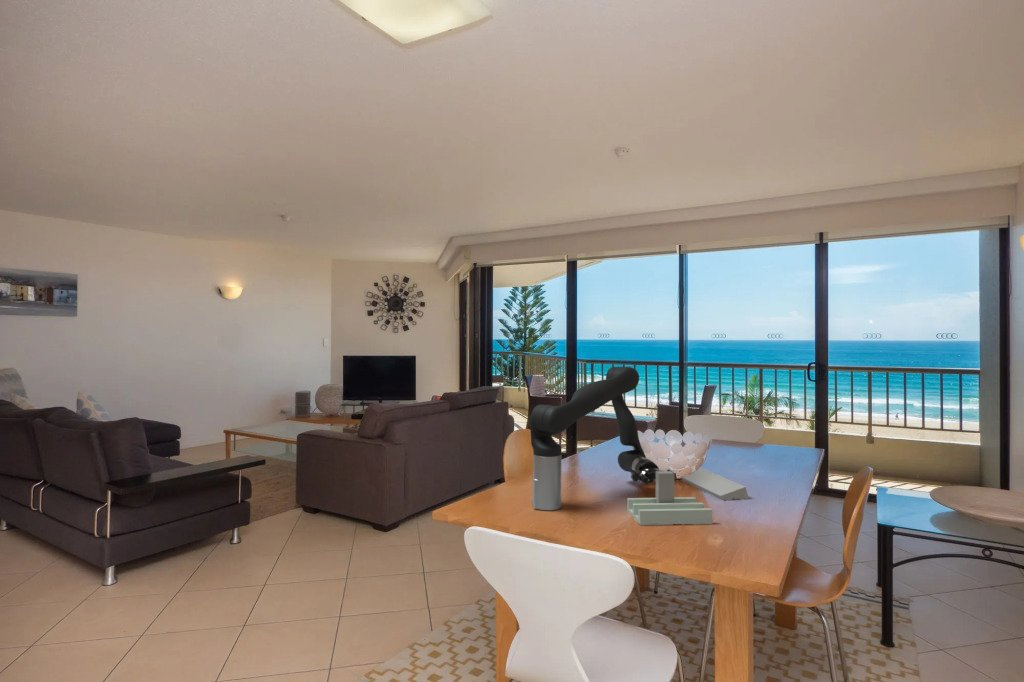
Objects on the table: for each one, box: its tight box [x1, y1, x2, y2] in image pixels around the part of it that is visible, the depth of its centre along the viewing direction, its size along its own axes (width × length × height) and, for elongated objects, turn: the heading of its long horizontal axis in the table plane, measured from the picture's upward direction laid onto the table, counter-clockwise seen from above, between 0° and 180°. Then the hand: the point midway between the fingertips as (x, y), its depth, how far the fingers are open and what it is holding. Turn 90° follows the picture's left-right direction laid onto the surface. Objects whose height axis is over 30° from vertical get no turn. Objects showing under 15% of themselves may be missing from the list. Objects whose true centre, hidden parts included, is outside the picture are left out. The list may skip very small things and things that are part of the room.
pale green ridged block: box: [626, 496, 713, 526], centre depth 171 cm, size 22×14×4 cm, turn 94°
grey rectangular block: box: [655, 470, 675, 503], centre depth 174 cm, size 5×3×12 cm, turn 94°
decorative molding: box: [681, 467, 749, 501], centre depth 208 cm, size 34×5×10 cm
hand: (659, 481), depth 179 cm, fingers open, 8 cm apart
